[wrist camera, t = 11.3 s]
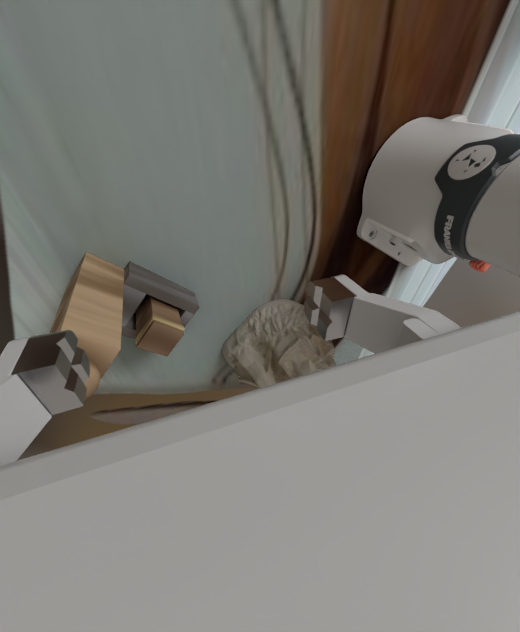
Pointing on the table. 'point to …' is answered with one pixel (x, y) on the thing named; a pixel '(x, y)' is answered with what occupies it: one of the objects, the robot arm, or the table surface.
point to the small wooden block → (157, 326)
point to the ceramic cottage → (277, 345)
